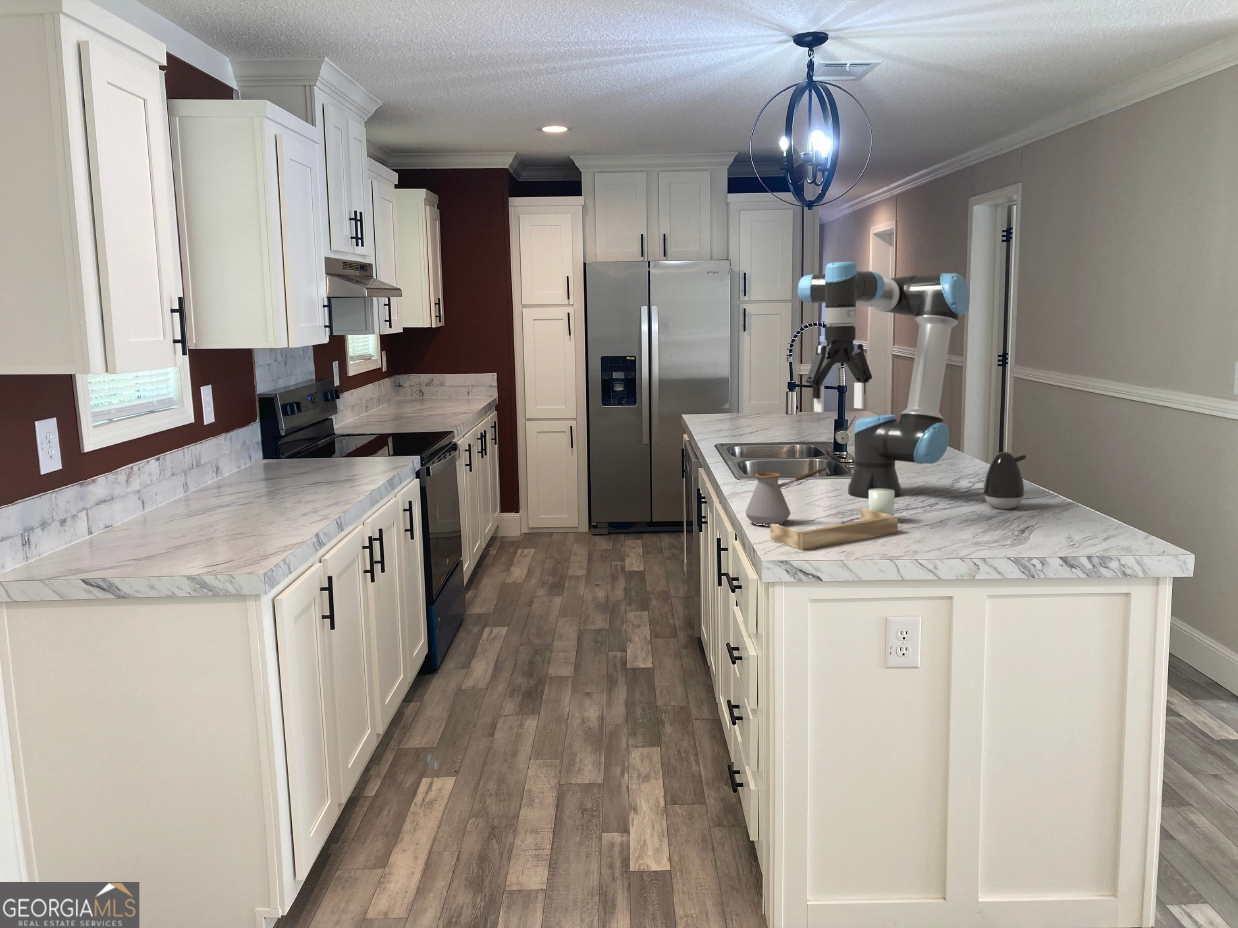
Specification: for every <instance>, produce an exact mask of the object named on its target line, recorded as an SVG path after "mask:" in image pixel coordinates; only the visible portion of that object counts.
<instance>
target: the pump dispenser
mask: <svg viewBox="0 0 1238 928" xmlns="http://www.w3.org/2000/svg"><path fill="white" fill-rule="evenodd" d="M1025 459H1027V456H1026V454H1022V455H1019V456H1015V455H1013V454H1012V453H1011V452H1008V451H1001V452H999V453H997V454H996V455H995V456H994V457H993V459H992V460H991V462H990V465H989V467H988V470H987V472H986V476H985V478H984V479H985V480H984V484H983V495H984V498H985V499H984V500H985V501H986V503H987V504H988V505H989V506H990V507H992V508H994V509H998V510H999V509H1000V510H1012V509H1014V508H1017V507H1018V506H1019V505H1020V504H1021V502H1022V500H1023V498H1024V496H1025V486H1024V485H1025V483H1024V478H1023V474H1022V471H1021V470H1022V469H1021V467H1020V464H1019V462H1021V461H1023V460H1025Z"/></svg>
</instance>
